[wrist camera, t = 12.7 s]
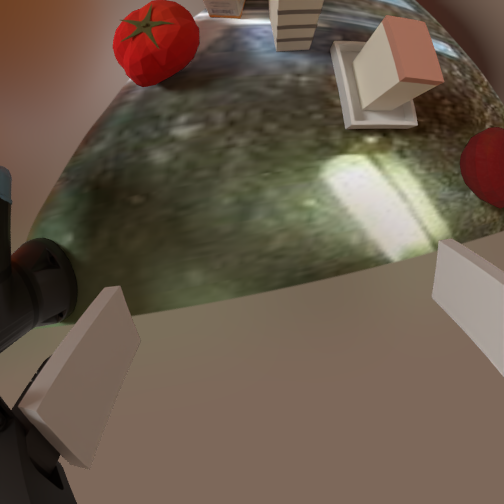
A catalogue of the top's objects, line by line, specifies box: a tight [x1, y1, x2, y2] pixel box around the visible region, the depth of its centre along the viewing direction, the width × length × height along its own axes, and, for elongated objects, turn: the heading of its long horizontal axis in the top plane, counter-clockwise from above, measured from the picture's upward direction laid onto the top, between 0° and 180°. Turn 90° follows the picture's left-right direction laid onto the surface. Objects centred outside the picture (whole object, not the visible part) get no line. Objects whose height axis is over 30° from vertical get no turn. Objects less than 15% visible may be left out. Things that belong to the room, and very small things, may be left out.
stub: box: [352, 15, 444, 111], centre depth 25 cm, size 4×7×14 cm, turn 7°
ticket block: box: [269, 0, 324, 52], centre depth 24 cm, size 5×7×15 cm, turn 7°
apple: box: [460, 127, 504, 208], centre depth 28 cm, size 11×11×12 cm
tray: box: [330, 41, 418, 129], centre depth 31 cm, size 10×12×3 cm
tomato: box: [113, 0, 200, 87], centre depth 28 cm, size 11×13×10 cm
